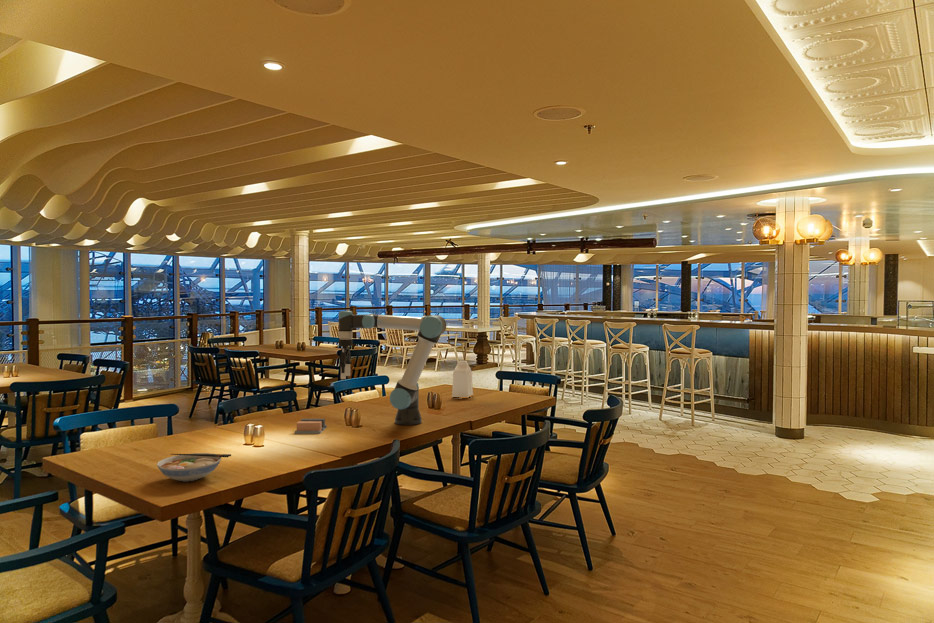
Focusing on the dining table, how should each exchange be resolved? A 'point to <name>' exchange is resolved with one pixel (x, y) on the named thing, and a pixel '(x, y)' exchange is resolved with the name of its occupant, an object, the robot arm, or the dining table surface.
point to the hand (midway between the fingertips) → (345, 377)
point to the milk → (462, 380)
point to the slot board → (310, 431)
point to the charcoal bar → (316, 420)
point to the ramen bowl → (189, 465)
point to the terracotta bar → (309, 426)
